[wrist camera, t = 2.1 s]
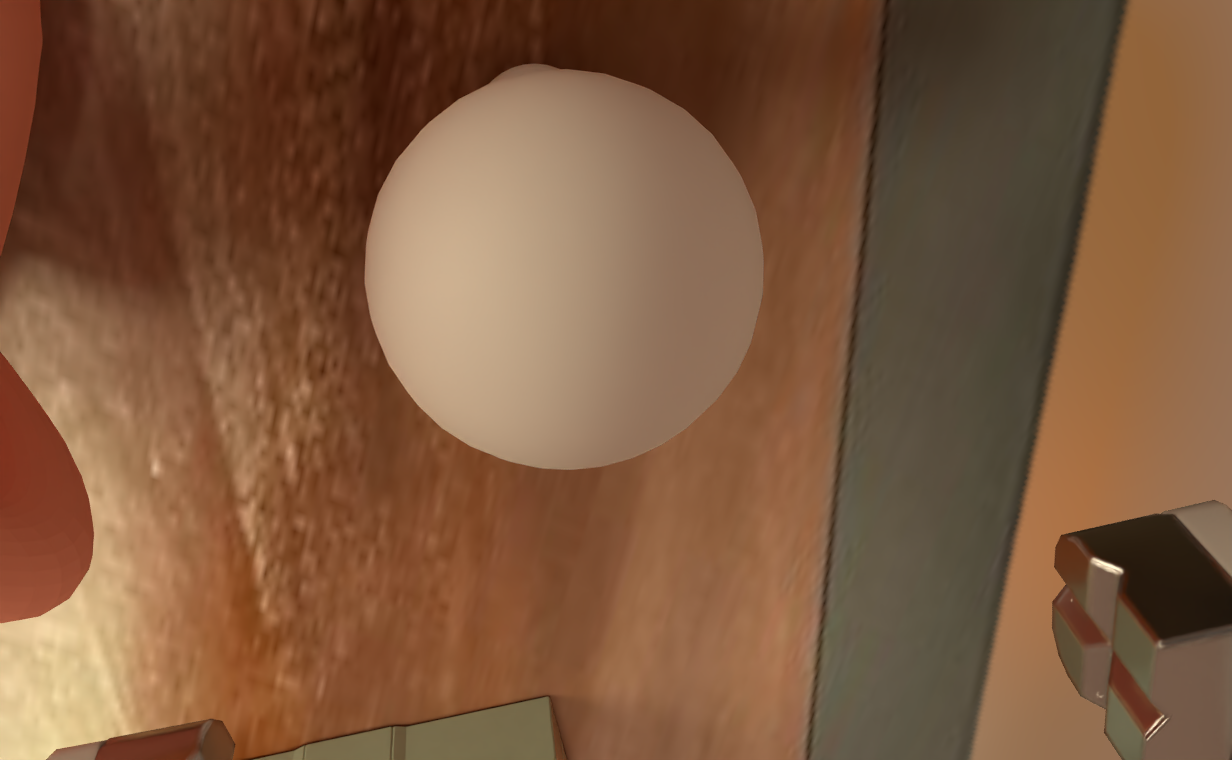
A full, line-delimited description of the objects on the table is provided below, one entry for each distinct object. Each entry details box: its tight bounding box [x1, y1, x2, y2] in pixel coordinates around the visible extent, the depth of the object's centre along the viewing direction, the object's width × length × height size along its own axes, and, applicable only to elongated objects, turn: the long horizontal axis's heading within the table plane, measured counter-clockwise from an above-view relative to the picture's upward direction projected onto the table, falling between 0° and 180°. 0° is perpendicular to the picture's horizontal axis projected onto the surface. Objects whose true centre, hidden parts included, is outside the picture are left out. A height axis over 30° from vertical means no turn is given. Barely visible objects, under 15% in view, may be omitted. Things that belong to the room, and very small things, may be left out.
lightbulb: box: [364, 64, 764, 470], centre depth 20 cm, size 6×6×11 cm
